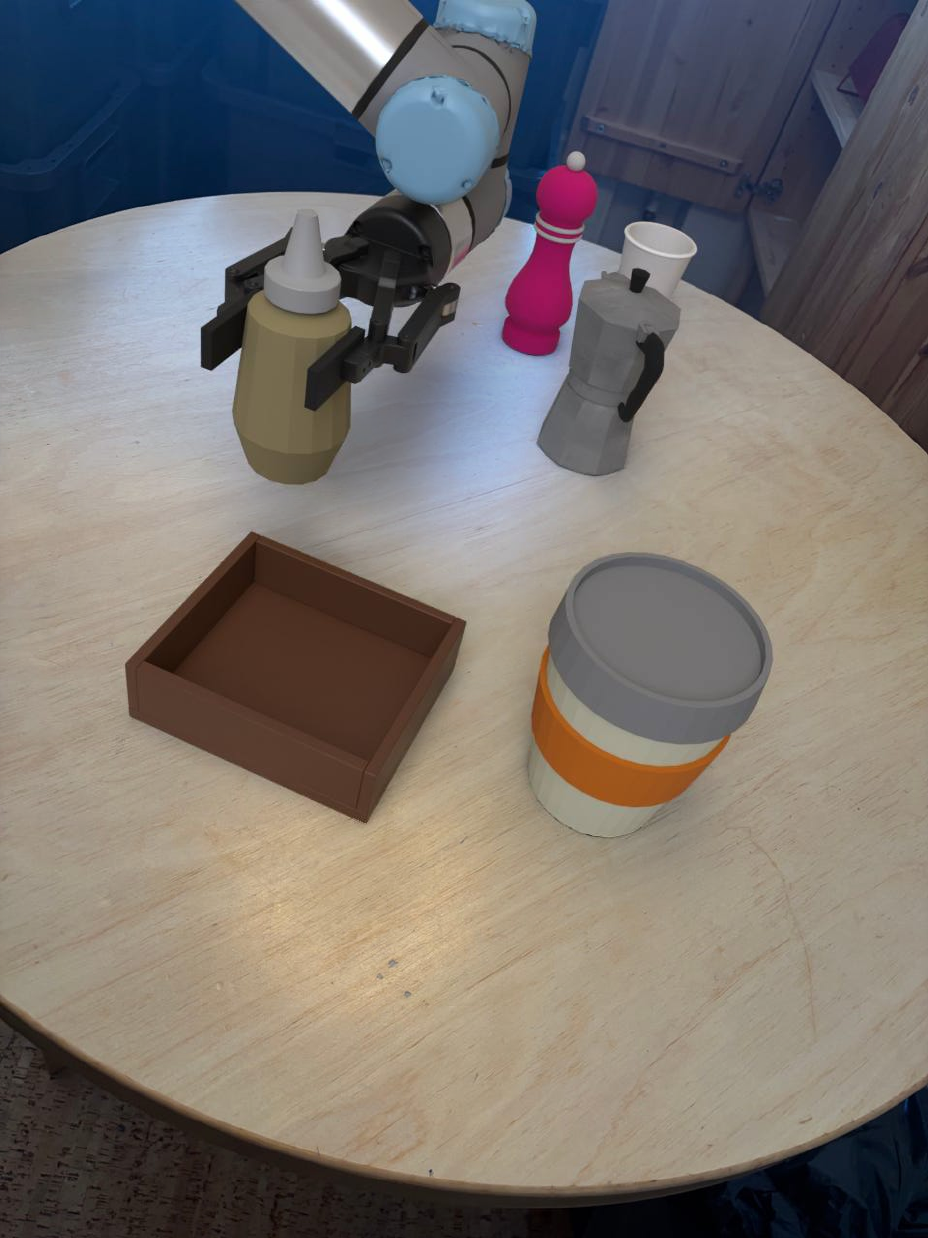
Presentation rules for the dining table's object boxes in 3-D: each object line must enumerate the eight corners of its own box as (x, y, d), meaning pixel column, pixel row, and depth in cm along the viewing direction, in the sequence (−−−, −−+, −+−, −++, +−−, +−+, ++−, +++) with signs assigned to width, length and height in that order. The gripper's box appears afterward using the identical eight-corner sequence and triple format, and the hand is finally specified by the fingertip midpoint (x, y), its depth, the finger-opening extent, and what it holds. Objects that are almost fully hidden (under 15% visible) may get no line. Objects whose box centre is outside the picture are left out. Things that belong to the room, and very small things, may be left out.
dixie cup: (585, 309, 112) (610, 226, 105) (629, 296, 117) (655, 216, 110) (638, 344, 109) (667, 260, 102) (681, 329, 113) (712, 248, 107)
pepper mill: (500, 317, 107) (544, 130, 93) (562, 333, 107) (616, 148, 93) (493, 348, 101) (538, 155, 88) (558, 364, 102) (614, 174, 88)
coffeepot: (521, 405, 95) (569, 228, 82) (609, 411, 97) (669, 240, 84) (556, 503, 84) (618, 318, 72) (654, 508, 87) (730, 329, 74)
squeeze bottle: (208, 470, 66) (210, 212, 53) (265, 416, 71) (278, 171, 59) (314, 511, 65) (341, 258, 52) (363, 453, 70) (397, 212, 58)
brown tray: (128, 716, 60) (124, 663, 56) (249, 581, 70) (251, 530, 67) (365, 824, 58) (375, 777, 54) (453, 669, 68) (467, 620, 64)
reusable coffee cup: (715, 847, 61) (819, 699, 51) (537, 878, 57) (612, 725, 47) (638, 697, 69) (715, 544, 59) (477, 716, 65) (529, 553, 55)
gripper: (512, 329, 75) (395, 477, 59) (293, 248, 78) (122, 368, 61) (535, 237, 70) (413, 370, 54) (299, 154, 72) (114, 257, 56)
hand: (258, 369), depth 58 cm, fingers closed on squeeze bottle, 6 cm apart
